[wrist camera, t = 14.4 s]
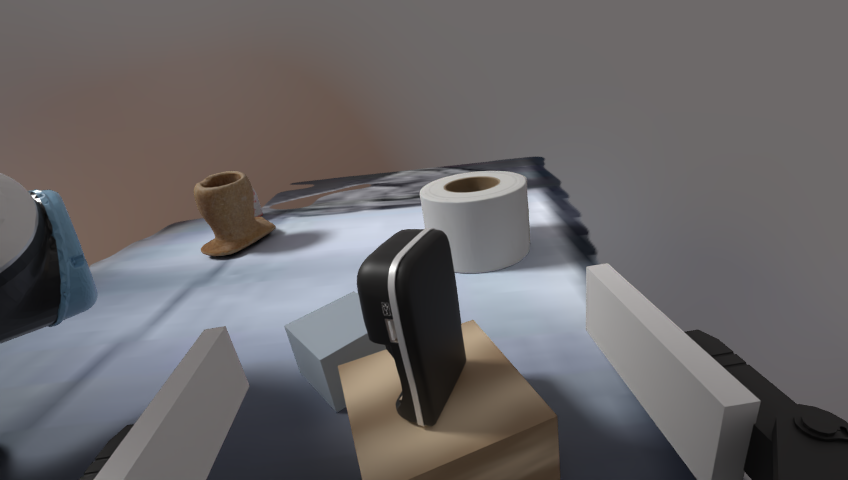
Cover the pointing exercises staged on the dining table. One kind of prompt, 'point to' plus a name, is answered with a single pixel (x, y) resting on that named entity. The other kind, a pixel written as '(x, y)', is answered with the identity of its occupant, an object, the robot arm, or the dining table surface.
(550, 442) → the oak block
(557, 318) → the dining table surface
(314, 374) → the slate-blue block
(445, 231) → the toilet paper roll
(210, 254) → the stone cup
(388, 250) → the battery charger
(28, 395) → the dining table surface
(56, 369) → the dining table surface
